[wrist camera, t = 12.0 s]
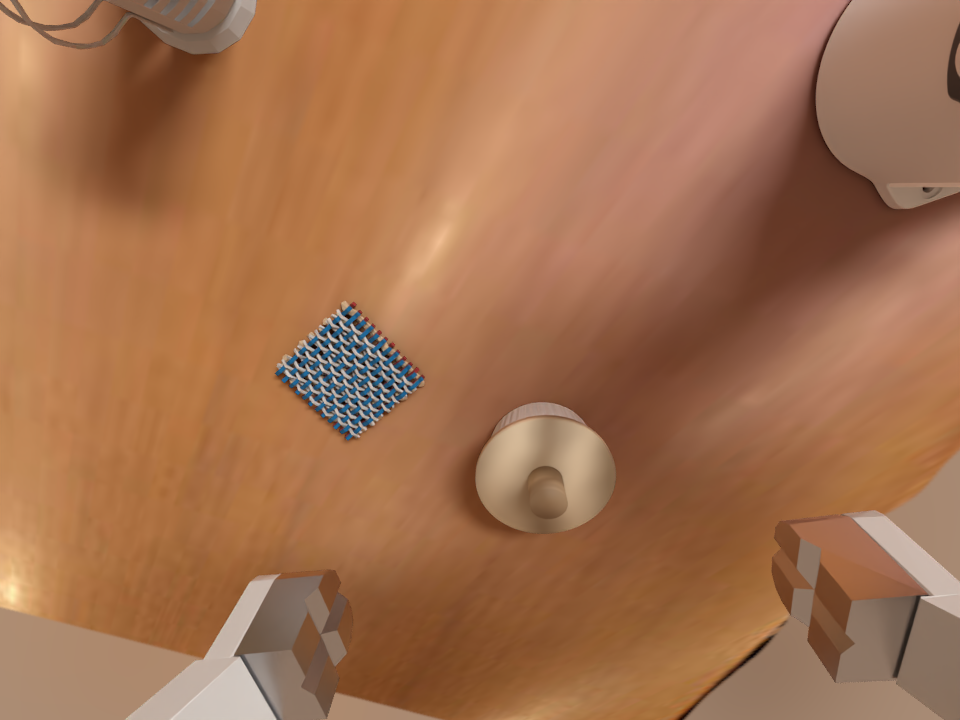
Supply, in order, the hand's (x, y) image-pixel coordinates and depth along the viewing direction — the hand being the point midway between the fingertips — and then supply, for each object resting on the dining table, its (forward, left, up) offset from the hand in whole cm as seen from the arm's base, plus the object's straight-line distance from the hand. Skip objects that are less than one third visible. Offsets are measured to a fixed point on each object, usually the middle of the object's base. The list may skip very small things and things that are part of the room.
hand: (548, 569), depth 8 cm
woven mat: (+16, +8, -32) cm, 37 cm away
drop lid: (0, +18, -26) cm, 32 cm away
